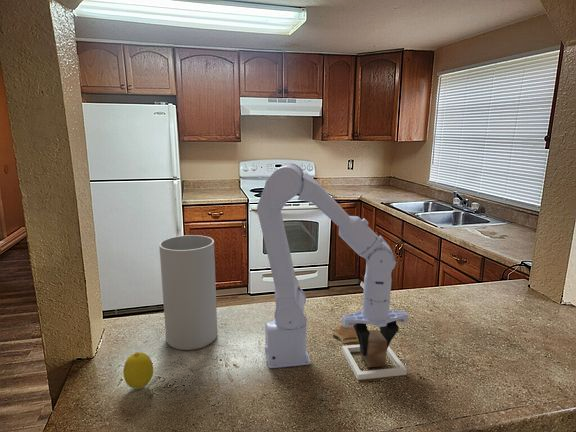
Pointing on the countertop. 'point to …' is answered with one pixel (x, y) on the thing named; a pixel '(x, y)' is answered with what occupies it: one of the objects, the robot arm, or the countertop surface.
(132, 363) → the lemon
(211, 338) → the cylinder vase
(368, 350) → the walnut block
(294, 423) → the countertop surface
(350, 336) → the shard
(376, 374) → the white flat square frame
